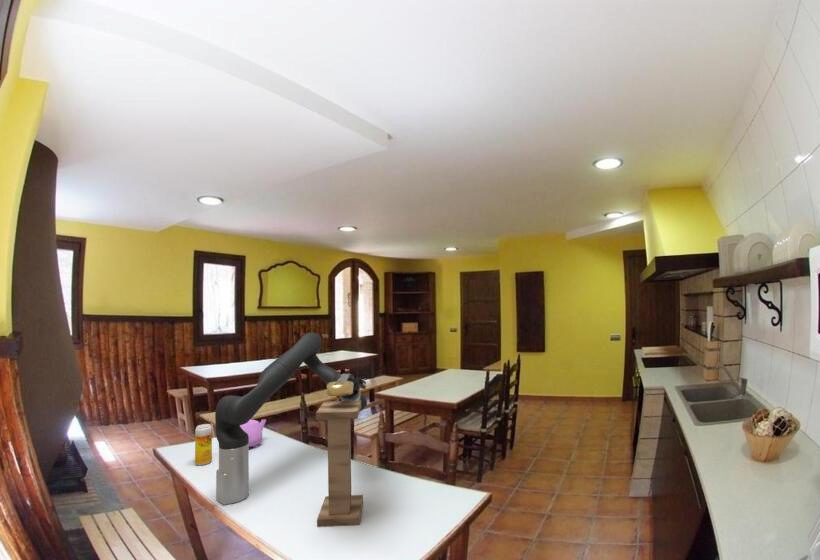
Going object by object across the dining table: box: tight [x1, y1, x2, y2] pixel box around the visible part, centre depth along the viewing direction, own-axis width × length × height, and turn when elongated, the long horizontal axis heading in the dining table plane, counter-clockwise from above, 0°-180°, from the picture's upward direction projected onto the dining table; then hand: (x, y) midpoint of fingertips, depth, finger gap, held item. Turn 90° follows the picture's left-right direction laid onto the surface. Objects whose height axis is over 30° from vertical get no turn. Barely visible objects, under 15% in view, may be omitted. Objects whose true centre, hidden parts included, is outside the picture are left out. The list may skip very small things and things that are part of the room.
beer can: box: [194, 423, 213, 466], centre depth 166 cm, size 6×6×15 cm
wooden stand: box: [315, 400, 364, 528], centre depth 124 cm, size 14×12×32 cm
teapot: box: [240, 418, 267, 448], centre depth 184 cm, size 20×12×13 cm, turn 141°
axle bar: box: [326, 373, 353, 397], centre depth 132 cm, size 21×8×3 cm, turn 2°
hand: (344, 376), depth 137 cm, fingers closed on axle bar, 3 cm apart
